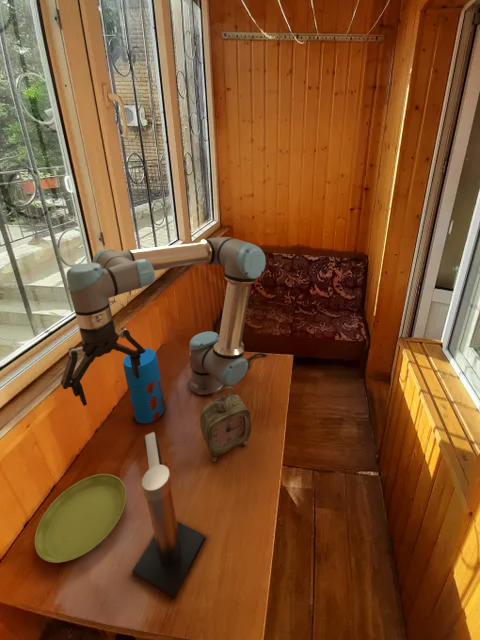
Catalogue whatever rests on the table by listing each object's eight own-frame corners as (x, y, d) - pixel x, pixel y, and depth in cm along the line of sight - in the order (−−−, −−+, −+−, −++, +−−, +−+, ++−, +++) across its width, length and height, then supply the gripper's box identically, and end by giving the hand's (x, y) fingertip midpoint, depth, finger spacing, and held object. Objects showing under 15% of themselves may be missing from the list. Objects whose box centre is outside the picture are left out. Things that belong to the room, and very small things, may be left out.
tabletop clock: (210, 468, 98) (204, 407, 89) (201, 446, 105) (194, 387, 96) (251, 446, 105) (249, 387, 96) (240, 426, 112) (237, 370, 104)
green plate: (78, 477, 95) (76, 470, 93) (142, 485, 92) (141, 478, 91) (15, 563, 75) (11, 555, 74) (94, 576, 73) (91, 568, 72)
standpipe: (174, 599, 70) (160, 529, 61) (133, 574, 73) (114, 506, 65) (205, 539, 80) (197, 472, 72) (167, 520, 84) (155, 455, 76)
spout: (182, 546, 74) (171, 482, 66) (157, 560, 71) (142, 495, 64) (170, 479, 88) (159, 420, 81) (148, 489, 86) (136, 429, 78)
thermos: (130, 410, 118) (118, 356, 110) (158, 396, 125) (149, 344, 116) (139, 429, 111) (128, 372, 102) (169, 413, 117) (160, 358, 109)
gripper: (39, 351, 68) (62, 424, 75) (150, 310, 85) (160, 372, 93) (32, 337, 73) (54, 407, 80) (139, 301, 90) (149, 361, 98)
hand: (111, 388), depth 87 cm, fingers open, 13 cm apart
